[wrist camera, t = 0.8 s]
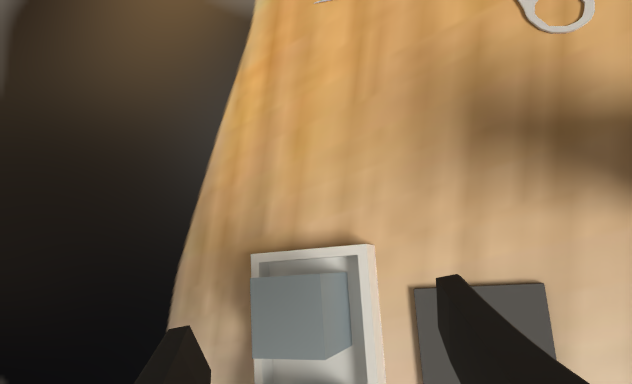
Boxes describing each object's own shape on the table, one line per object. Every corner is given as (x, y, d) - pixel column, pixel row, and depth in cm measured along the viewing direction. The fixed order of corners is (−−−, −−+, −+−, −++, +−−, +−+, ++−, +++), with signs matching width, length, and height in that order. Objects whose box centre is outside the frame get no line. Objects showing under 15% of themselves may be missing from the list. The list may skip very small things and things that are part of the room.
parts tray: (396, 500, 24) (389, 517, 23) (272, 481, 27) (257, 495, 26) (374, 245, 27) (366, 243, 25) (264, 254, 30) (250, 254, 29)
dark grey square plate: (569, 443, 21) (570, 446, 21) (429, 431, 24) (428, 434, 24) (543, 283, 23) (544, 283, 23) (414, 288, 26) (413, 289, 25)
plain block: (352, 345, 26) (325, 360, 22) (288, 344, 28) (252, 358, 24) (347, 272, 27) (320, 273, 23) (285, 275, 29) (250, 277, 25)
